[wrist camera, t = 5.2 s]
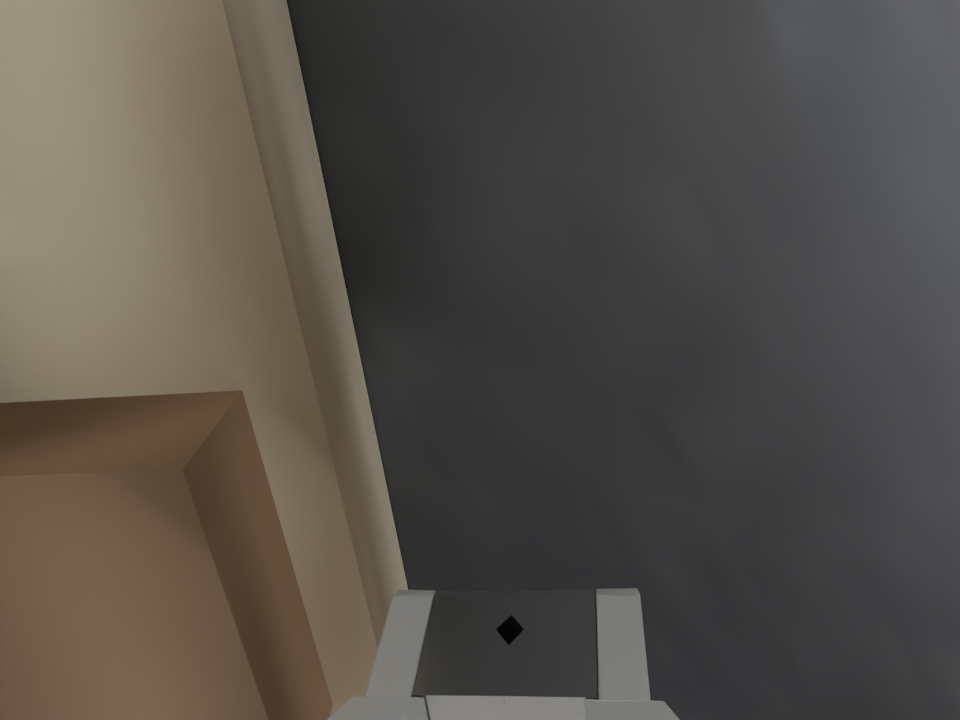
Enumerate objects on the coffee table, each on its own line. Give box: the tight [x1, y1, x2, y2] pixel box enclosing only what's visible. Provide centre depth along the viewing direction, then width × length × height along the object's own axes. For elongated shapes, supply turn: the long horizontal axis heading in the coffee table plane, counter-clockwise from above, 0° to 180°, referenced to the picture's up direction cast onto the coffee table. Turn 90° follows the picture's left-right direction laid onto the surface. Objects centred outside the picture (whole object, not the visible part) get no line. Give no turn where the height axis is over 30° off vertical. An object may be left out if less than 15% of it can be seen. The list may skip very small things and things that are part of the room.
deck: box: [0, 0, 408, 717], centre depth 13 cm, size 12×16×2 cm
